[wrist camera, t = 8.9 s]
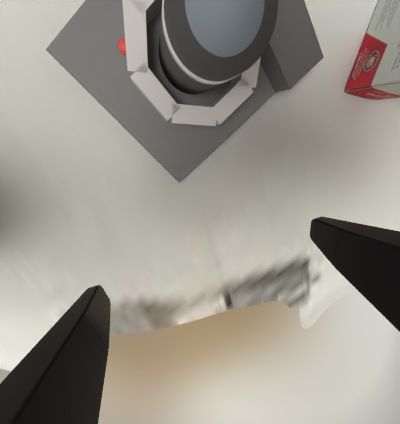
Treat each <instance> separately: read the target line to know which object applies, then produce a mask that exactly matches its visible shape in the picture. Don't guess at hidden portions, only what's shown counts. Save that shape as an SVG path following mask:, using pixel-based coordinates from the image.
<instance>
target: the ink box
mask: <svg viewBox="0 0 400 424" xmlns="http://www.w3.org/2000/svg"><path fill="white" fill-rule="evenodd" d="M345 92H346V93H350V94H353V95H356V96H360V97H364V98H370V99H387V98H397V97H400V0H378V3H377V6H376V9H375V11H374V14H373V17H372V19H371V22H370V25H369V27H368V30H367V32H366V35H365V38H364V41H363V43H362V46H361V48H360V51H359V54H358V57H357V59H356V62H355V64H354V67H353V70H352V72H351V75H350V78H349V80H348V83H347V86H346V88H345Z"/></svg>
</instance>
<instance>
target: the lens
mask: <svg viewBox="0 0 400 424" xmlns="http://www.w3.org/2000/svg"><path fill="white" fill-rule="evenodd" d="M277 12H278V0H163V1H162V21H161V30H160V39H159V60H160V65H161V68H162V70H163V73H164V75H165V77H166V78H167V80H168V81H169V82H170V83H171V85H172V86H174V87H175V88H176V89H177V90H179V91H181V92H183V93H186V94H199V93H202V92H205V91H207V90H209V89H211V88H213V87H215V86H217V85H219V84H221V83H224V82H227V81H229V80H231V79H233V78H235V77H237V76H238V75H240V74H241V73H243V72H244V71H246V70H247V69H249V68H250V67H251V66H252V65H254V64H255V63H256V62H257V60H258V59H259V58H260V57H261V55H262V54H263V53H264V51H265V49H266V47H267V46H268V44H269V41H270V39H271V37H272V34H273V31H274V28H275V23H276V19H277Z"/></svg>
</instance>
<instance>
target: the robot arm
mask: <svg viewBox="0 0 400 424" xmlns="http://www.w3.org/2000/svg"><path fill="white" fill-rule="evenodd" d="M310 237H311V239H312V241H313V242H314V243H315V244H316V246H317V247H318V248H319V249H320V250H321V252H322V253H323V254H324V255H325V256H326V258H327V259H328V260H329V261H330V262H331V263H332V265H333V266H334V267H335V268H336V269H337V270H338V271H339V272H340V273H341V274H342V275H343V276H344V277H345V278H346V279H347V280H348V281H349V282H350V283H351V284H352V285H353V286H354V287H355V288H356V289H357V290H358V291H359V292H360V293H361V294H362V295H363V296H364V297H365V298H366V299H367V300H368V301H369V302H370V303H371V304H372V305H373V306H374V307H375V308H376V309H377V310H378V311H379V312H380V313H381V314H382V315H383V316H385V317H386V319H387V320H388V321H389V322H390V323H391V324H393V326H394V327H395V328H396V329H398V330H399V331H400V232H399V231H394V230H389V229H384V228H378V227H373V226H368V225H363V224H358V223H352V222H347V221H342V220H337V219H332V218H326V217H319V218H315V219H313V220H312V221H311V229H310ZM110 306H111V305H110V299H109V297H108V296H107V294H106V293H105V291H104V289H103V288H102V286H100V285H97V286H93V287H90V288H88V289H87V290H86V291H85V292H84V293H83V294H82V295H81V296H80V297H79V299H78V300H77V301H76V302H75V303H74V304H73V305H72V306H71V307H70V308H69V309H68V311H67V312H66V313H65V314H64V315H63V316H62V317H61V318H60V319H59V320H58V321H57V323H56V324H55V325H54V326H53V327H52V328H51V329H50V330H49V331H48V332H47V333H46V335H45V336H44V337H43V338H42V339H41V340H40V341H39V342H38V343H37V344H36V345H35V347H34V348H33V349H32V350H31V351H30V352H29V353H28V354H27V355H26V356H25V357H24V358H23V360H22V361H21V362H20V363H19V364H18V365H17V366H16V367H15V368H14V369H13V370H12V372H11V373H10V374H9V375H8V376H7V377H6V378H5V379H4V380H3V381H2V382H1V384H0V424H98V418H99V411H100V405H101V398H102V391H103V384H104V377H105V370H106V363H107V356H108V349H109V332H110Z"/></svg>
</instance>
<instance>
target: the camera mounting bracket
mask: <svg viewBox="0 0 400 424" xmlns="http://www.w3.org/2000/svg"><path fill="white" fill-rule="evenodd" d="M162 1H163V0H86V1H85V2H84V3H83V4H82V6H81V7H80V8H79V9H78V11H77V12H76V13H75V14H74V16H73V17H72V18H71V19H70V20H69V22H68V23H67V24H66V25H65V27H64V28H63V29H62V30H61V32H60V33H59V34H58V35H57V37H56V38H55V39H54V40H53V41H52V43H51V44H50V45H49V46H48V48H47V49H46V50H47V51H48V52H49V53H50V54H51V55H52V56H53V57H54V58H55V59H56V60H57V61H58V62H59V63H60V64H61V65H62V66H63V67H64V68H65V69H66V70H67V71H68V72H69V73H70V74H71V75H72V76H73V77H74V78H75V79H76V80H77V81H78V82H79V83H80V84H81V85H82V86H83V87H84V88H85V89H86V90H87V91H88V92H89V93H90V94H91V95H92V96H93V97H94V98H95V99H96V100H97V101H98V102H99V103H100V104H101V105H102V106H103V107H104V108H105V109H106V110H107V111H108V112H109V113H110V114H111V115H112V116H113V117H114V118H115V119H116V120H117V121H118V122H119V123H120V124H121V125H122V126H123V127H124V128H125V129H126V130H127V131H128V132H129V133H130V134H131V135H132V136H133V137H134V138H135V139H136V140H137V141H138V142H139V143H140V144H141V145H142V146H143V147H144V148H145V149H146V150H147V151H148V152H149V153H150V154H151V155H152V156H153V157H154V158H155V159H156V160H157V161H158V162H159V163H160V164H161V165H162V166H163V167H164V168H165V169H166V170H167V171H168V172H169V173H170V174H171V175H172V176H173V177H174V178H175V179H176V180H177V181H178V182H179V183H180V182H181V181H182V180H183V179H184V178H185V177H186V176H187V175H188V174H189V173H190V172H191V171H192V170H194V169H195V168H196V167H197V166H198V165H199V164H200V163H201V162H202V161H203V160H204V159H205V158H206V157H207V156H208V155H209V154H210V153H211V152H212V151H214V150H215V149H216V148H217V147H218V146H219V145H220V144H221V143H222V142H223V141H224V140H225V139H226V138H227V137H228V136H229V135H230V134H231V133H232V132H234V131H235V130H236V129H237V128H238V127H239V126H240V125H241V124H242V123H243V122H244V121H245V120H246V119H247V118H248V117H249V116H250V115H251V114H252V113H254V112H255V111H256V110H257V109H258V108H259V107H260V106H261V105H262V104H263V103H264V102H265V101H266V100H267V99H268V98H269V97H270V96H271V95H272V94H273V93H275V92H278V91H282V90H287V89H291V88H292V87H293V86H294V85H295V84H296V83H297V82H298V81H299V80H300V79H301V78H302V77H303V76H304V75H305V74H306V73H308V72H309V71H310V70H311V69H312V68H313V67H314V66H315V65H316V64H317V63H318V62H319V61H320V60H321V59H322V58H323V54H322V51H321V48H320V46H319V43H318V40H317V37H316V34H315V31H314V28H313V25H312V22H311V20H310V17H309V14H308V11H307V8H306V5H305V2H304V0H278V12H277V19H276V23H275V28H274V31H273V34H272V37H271V39H270V41H269V44H268V46H267V47H266V49H265V51H264V53H263V54H262V55H261V57H260V58H259V59H258V60H257V62H256V63H255V64H254V65H252V66H251V67H250V68H249V69H247V70H246V71H244V72H243V73H241V74H240V75H238V76H237V77H235V78H233V79H231V80H229V81H227V82H224V83H221V84H219V85H217V86H215V87H213V88H211V89H209V90H207V91H205V92H202V93H199V94H186V93H183V92H181V91H179V90H177V89H176V88H175V87H174V86H172V85H171V83H170V82H169V81H168V80H167V78H166V77H165V75H164V73H163V70H162V68H161V65H160V60H159V39H160V30H161V21H162Z"/></svg>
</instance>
